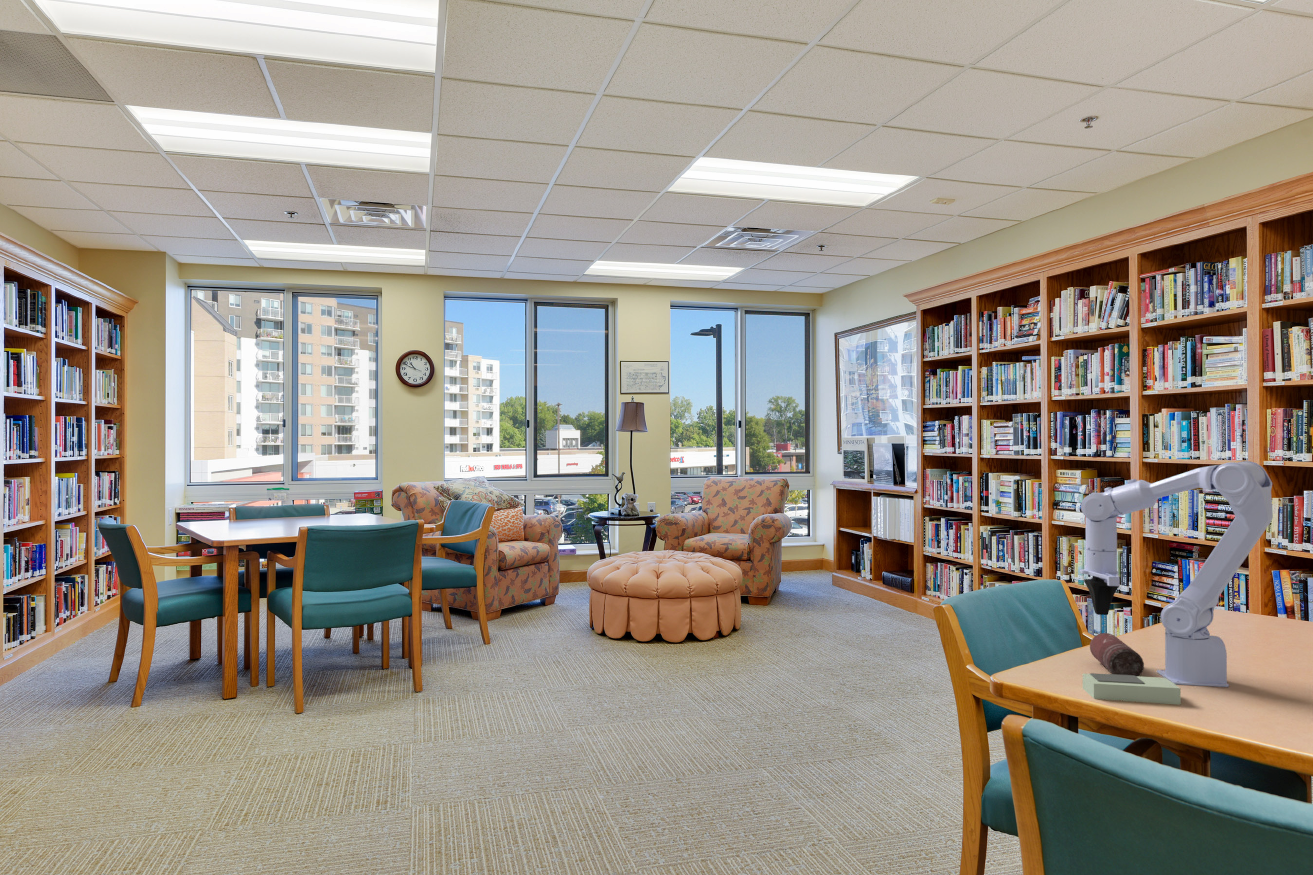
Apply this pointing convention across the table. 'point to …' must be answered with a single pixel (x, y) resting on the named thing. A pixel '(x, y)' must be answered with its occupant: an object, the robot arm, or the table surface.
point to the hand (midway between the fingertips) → (1101, 614)
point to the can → (1116, 655)
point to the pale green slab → (1131, 688)
